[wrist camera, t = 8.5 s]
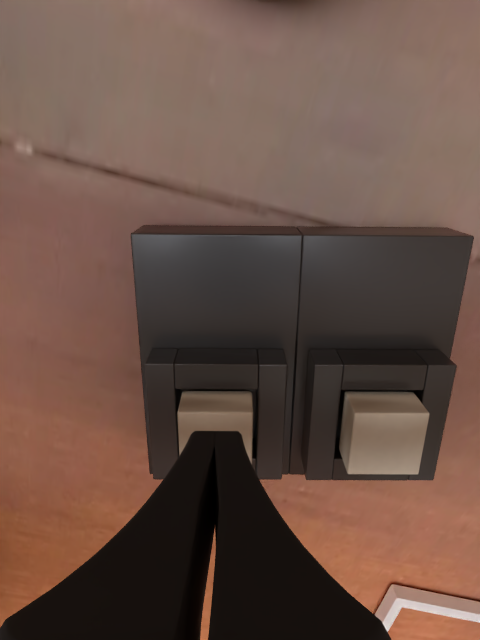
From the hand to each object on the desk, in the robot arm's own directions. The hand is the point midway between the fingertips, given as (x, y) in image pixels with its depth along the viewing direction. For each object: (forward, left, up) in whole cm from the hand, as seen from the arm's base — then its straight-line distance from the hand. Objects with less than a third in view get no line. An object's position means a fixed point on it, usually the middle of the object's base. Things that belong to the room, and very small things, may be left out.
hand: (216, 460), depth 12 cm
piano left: (-1, 0, -10) cm, 10 cm away
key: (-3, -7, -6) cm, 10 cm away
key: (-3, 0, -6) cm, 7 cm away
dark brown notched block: (-1, -7, -10) cm, 12 cm away
